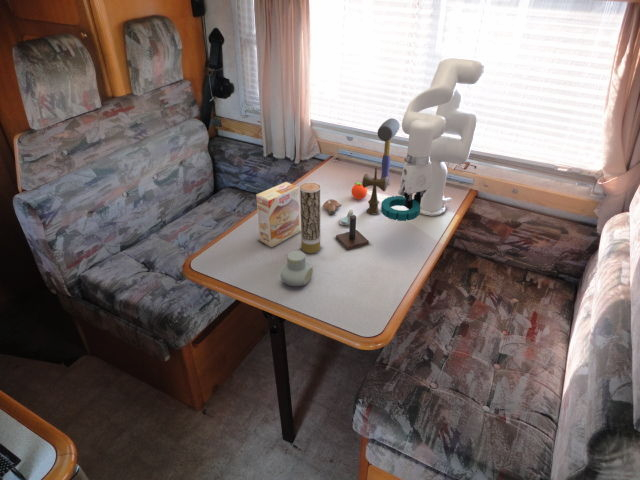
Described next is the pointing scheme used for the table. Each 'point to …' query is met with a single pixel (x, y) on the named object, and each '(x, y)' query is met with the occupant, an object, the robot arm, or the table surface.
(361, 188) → the clementine
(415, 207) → the ring
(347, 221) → the pacifier
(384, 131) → the rubber mallet
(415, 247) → the table surface
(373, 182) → the kendama
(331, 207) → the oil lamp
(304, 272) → the air freshener
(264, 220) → the coffeecake box
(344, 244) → the peg stand
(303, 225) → the patterned cylinder
